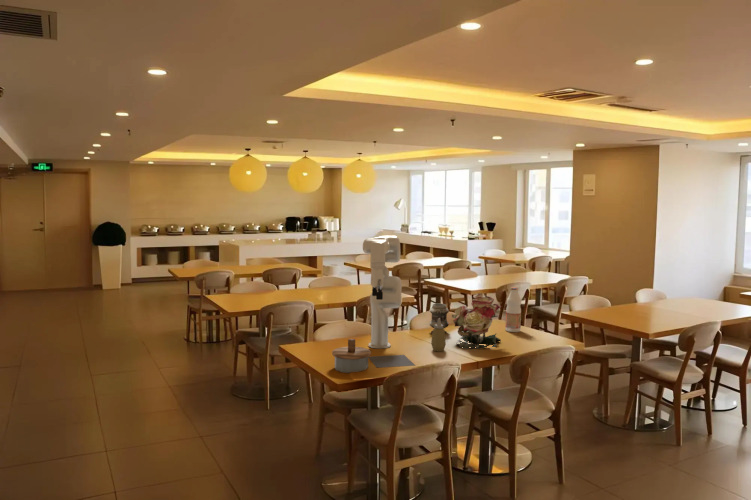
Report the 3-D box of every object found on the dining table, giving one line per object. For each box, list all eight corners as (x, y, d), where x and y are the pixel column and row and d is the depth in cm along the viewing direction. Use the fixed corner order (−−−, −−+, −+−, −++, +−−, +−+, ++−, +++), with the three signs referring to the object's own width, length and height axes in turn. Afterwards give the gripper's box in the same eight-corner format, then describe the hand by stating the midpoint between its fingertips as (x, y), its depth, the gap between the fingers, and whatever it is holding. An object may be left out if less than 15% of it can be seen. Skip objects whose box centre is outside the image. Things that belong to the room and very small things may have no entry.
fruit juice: (509, 332, 362) (510, 289, 359) (502, 329, 371) (504, 286, 369) (523, 332, 364) (524, 288, 362) (516, 328, 373) (517, 286, 371)
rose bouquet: (451, 337, 347) (453, 289, 344) (501, 340, 341) (502, 291, 339) (449, 348, 322) (450, 296, 319) (502, 351, 316) (504, 298, 313)
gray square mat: (367, 357, 301) (367, 356, 301) (404, 355, 305) (404, 354, 305) (376, 368, 281) (376, 367, 281) (415, 366, 286) (415, 365, 286)
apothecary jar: (438, 329, 368) (438, 302, 367) (452, 332, 359) (453, 304, 358) (425, 332, 360) (425, 304, 358) (439, 335, 351) (440, 307, 350)
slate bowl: (332, 364, 288) (332, 350, 287) (363, 362, 292) (363, 349, 291) (338, 373, 273) (338, 359, 272) (370, 371, 276) (370, 357, 276)
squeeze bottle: (432, 347, 322) (433, 316, 321) (446, 349, 320) (447, 317, 319) (429, 351, 315) (430, 319, 313) (444, 352, 312) (445, 320, 311)
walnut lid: (329, 350, 289) (329, 336, 288) (366, 348, 293) (366, 334, 293) (335, 360, 270) (336, 345, 270) (374, 358, 275) (375, 343, 274)
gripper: (367, 263, 303) (366, 294, 305) (374, 267, 287) (373, 301, 289) (380, 262, 305) (380, 294, 307) (388, 267, 288) (388, 300, 290)
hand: (377, 297), depth 298 cm, fingers open, 9 cm apart
